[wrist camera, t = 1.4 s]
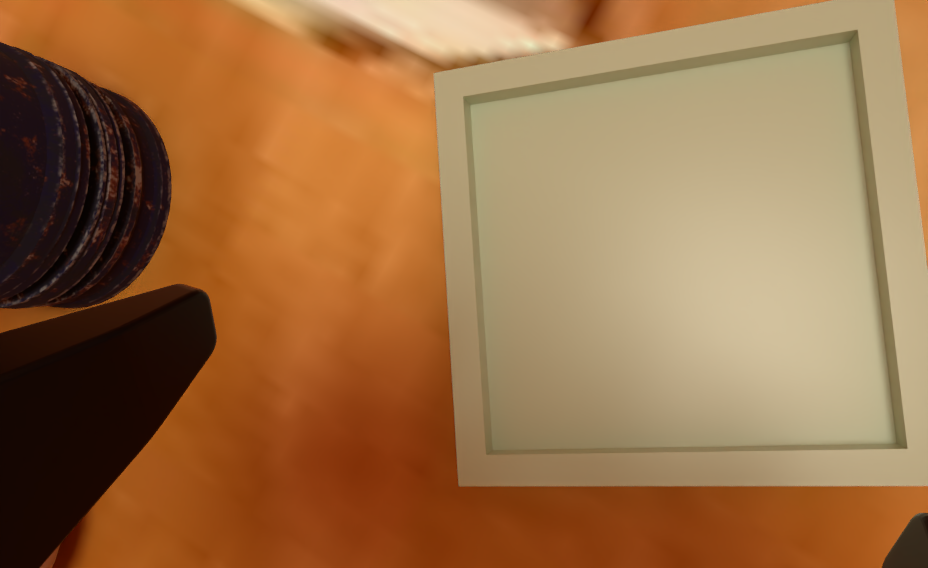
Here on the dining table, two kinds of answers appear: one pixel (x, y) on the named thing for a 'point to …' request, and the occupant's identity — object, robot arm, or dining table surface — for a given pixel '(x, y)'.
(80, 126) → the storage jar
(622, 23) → the dining table surface
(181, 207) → the dining table surface
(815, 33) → the tray
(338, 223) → the dining table surface
